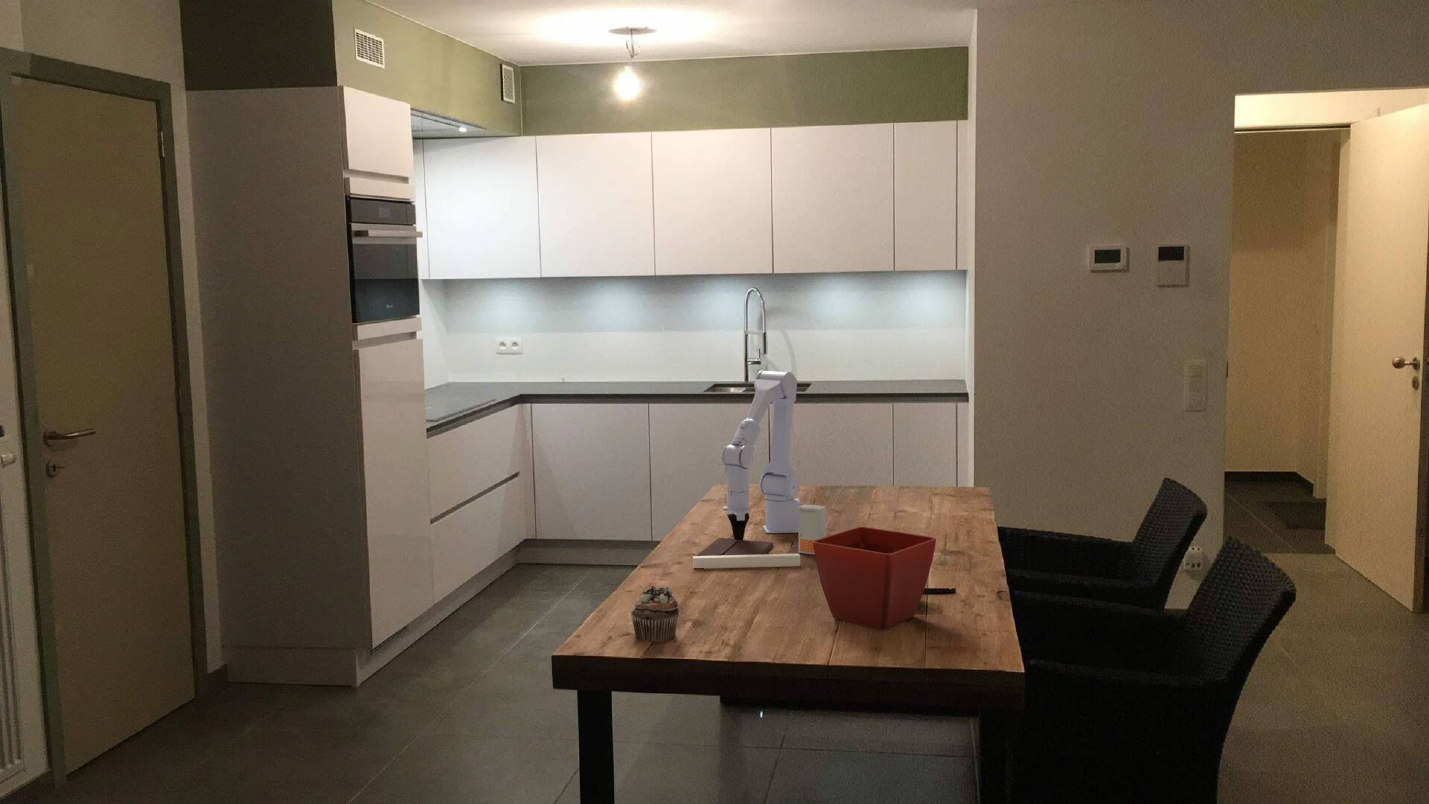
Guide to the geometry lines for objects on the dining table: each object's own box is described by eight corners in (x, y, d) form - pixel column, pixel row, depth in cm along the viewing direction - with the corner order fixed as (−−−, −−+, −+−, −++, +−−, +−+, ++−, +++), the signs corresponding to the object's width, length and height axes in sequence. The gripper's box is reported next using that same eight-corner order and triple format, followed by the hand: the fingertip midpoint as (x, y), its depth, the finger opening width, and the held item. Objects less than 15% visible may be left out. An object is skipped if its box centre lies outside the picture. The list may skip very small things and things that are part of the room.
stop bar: (798, 564, 306) (798, 553, 305) (800, 566, 304) (800, 555, 303) (693, 566, 303) (692, 556, 303) (693, 568, 301) (693, 558, 301)
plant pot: (860, 600, 274) (860, 524, 272) (937, 615, 262) (938, 537, 260) (810, 620, 259) (810, 540, 257) (889, 637, 247) (890, 554, 245)
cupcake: (678, 628, 254) (678, 580, 253) (679, 643, 245) (678, 593, 243) (631, 629, 254) (631, 581, 253) (630, 644, 244) (629, 594, 243)
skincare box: (797, 553, 316) (797, 506, 315) (804, 549, 320) (804, 503, 319) (819, 555, 314) (820, 509, 312) (826, 552, 317) (826, 506, 316)
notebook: (773, 548, 323) (773, 540, 323) (753, 566, 305) (753, 558, 304) (717, 544, 328) (717, 537, 327) (695, 562, 309) (695, 554, 309)
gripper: (720, 485, 331) (721, 534, 333) (724, 496, 317) (725, 548, 319) (746, 484, 332) (747, 533, 334) (752, 495, 318) (753, 547, 320)
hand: (738, 541), depth 327 cm, fingers closed, pressing on notebook
